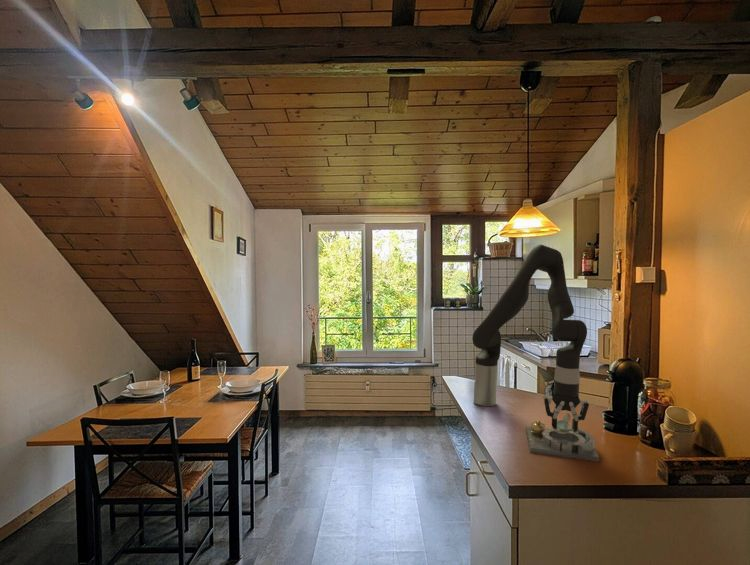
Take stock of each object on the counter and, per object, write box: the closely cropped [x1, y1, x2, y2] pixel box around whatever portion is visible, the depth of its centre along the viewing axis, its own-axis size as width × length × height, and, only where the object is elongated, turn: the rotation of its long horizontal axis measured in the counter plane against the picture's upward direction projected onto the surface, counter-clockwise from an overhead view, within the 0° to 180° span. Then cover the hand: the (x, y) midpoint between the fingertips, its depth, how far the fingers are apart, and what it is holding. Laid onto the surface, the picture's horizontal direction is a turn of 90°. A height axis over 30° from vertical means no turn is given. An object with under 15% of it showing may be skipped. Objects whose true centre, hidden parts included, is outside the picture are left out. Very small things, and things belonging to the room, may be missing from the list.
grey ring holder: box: [525, 420, 600, 463], centre depth 138 cm, size 20×18×6 cm
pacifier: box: [551, 412, 574, 434], centre depth 137 cm, size 7×6×6 cm
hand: (564, 429), depth 137 cm, fingers closed on pacifier, 5 cm apart
